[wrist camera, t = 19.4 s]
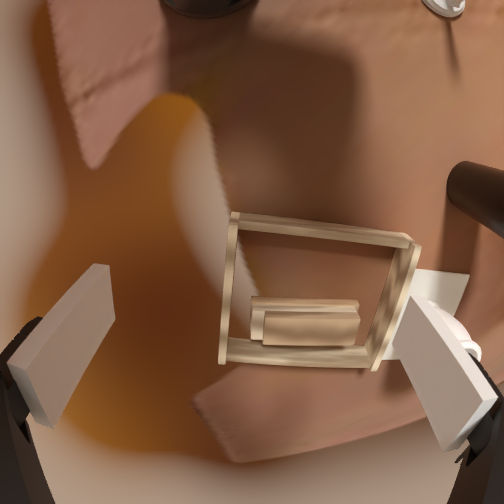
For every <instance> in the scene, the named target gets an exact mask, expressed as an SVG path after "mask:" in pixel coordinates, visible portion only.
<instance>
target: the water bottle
mask: <svg viewBox="0 0 504 504" xmlns="http://www.w3.org/2000/svg"><path fill="white" fill-rule="evenodd" d="M447 194H448V198H449V200H450V202H451V203H452V205H453V206H455V207H456V208H458V209H459V210H461V211H462V212H464V213H466V214H467V215H469V216H470V217H472V218H473V219H475V220H477V221H478V222H480V223H481V224H483V225H484V226H486V227H487V228H489V229H490V230H492V231H493V232H495V233H496V234H498V235H499V236H500V237H502V238H503V239H504V171H503V170H499V169H496V168H492V167H488V166H485V165H481V164H477V163H473V162H469V161H463V162H460V163H458V164H457V165H456V166H455V167H454V168H453V169H452V170H451V172H450V174H449V177H448V180H447Z"/></svg>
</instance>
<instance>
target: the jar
mask: <svg viewBox="0 0 504 504" xmlns="http://www.w3.org/2000/svg"><path fill="white" fill-rule="evenodd" d="M428 302H429V303H430V304H431V305H432V307H433V308H434V309H435V311H436V312H437V313H438V314H439V316H440V317H441V318H442V319H443V321H444V322H445V323H446V325H447V326H448V327H449V328H450V330H451V331H452V332H453V334H454V335H455V336H456V338H457V339H458V340H459V342H460V343H461V344H462V346H463V347H464V349H465V350H466V351H467V353H470V354H471V355H473V356H474V357H475V358H476V359H477V360H478V361H479V362H480V359H481V354H482V352H481V348H480V347H479V346H478V344H477V343H475V342H474V341H472V340H471V337H470V335H469V334H468V332H467V330H466V329H465V328H464V326H463V325H462V324H461V323H460V322H459V321H458V320H457V319H455V318H454V317H452V316H451V315H450V314H449V313H448V312H446V311H444V310H442V309H440V307H439V305H438V304H437V303H436V302H434V301H428Z"/></svg>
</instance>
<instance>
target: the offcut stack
mask: <svg viewBox="0 0 504 504" xmlns="http://www.w3.org/2000/svg"><path fill="white" fill-rule="evenodd" d="M358 309H359V303H358V301H357V300H345V299H302V298H273V297H259V296H251V315H250V332H251V339H254V340H263V345H308V346H326V345H354V342H355V339H356V335H357V331H358V328H359V324H360V320H361V319H360V317H359V315H358Z"/></svg>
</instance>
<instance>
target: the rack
mask: <svg viewBox="0 0 504 504" xmlns="http://www.w3.org/2000/svg"><path fill="white" fill-rule="evenodd" d="M238 229H243V230H252V231H262V232H271V233H280V234H289V235H298V236H307V237H316V238H324V239H333V240H341V241H350V242H358V243H366V244H374V245H382V246H390V247H396V248H395V252H394V255H393V259H392V263H391V266H390V270H389V273H388V276H387V280H386V283H385V286H384V289H383V293H382V296H381V299H380V302H379V305H378V308H377V311H376V314H375V317H374V320H373V323H372V326H371V328H370V331H369V334H368V337H367V339H366V342H365V345H364V346H357V345H326V346H308V345H263V340H251V339H240V338H231V337H228V334H229V322H230V311H231V300H232V289H233V279H234V266H235V258H236V247H237V237H238ZM421 248H422V247H421V246H420V245H419V244H417V243H416V242H415V241H414V240H413V239H412V238H411V237H409V236H408V235H407V234H406V233H400V232H393V231H386V230H379V229H372V228H365V227H358V226H350V225H343V224H335V223H327V222H319V221H311V220H303V219H295V218H286V217H277V216H268V215H259V214H250V213H240V212H232V213H231V217H230V221H229V226H228V238H227V250H226V261H225V262H226V263H225V274H224V287H223V300H222V313H221V327H220V341H219V356H218V364H225V362H226V361H234V362H244V363H256V364H270V365H285V366H305V367H339V368H370V371H377V369H378V367H379V365H380V362H381V360H382V358H383V355H384V353H385V351H386V348H387V346H388V343H389V341H390V338H391V336H392V333H393V331H394V328H395V326H396V323H397V321H398V318H399V315H400V312H401V310H402V307H403V304H404V301H405V299H406V296H407V293H408V290H409V287H410V284H411V281H412V278H413V275H414V272H415V268H416V265H417V262H418V259H419V255H420V252H421Z"/></svg>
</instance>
